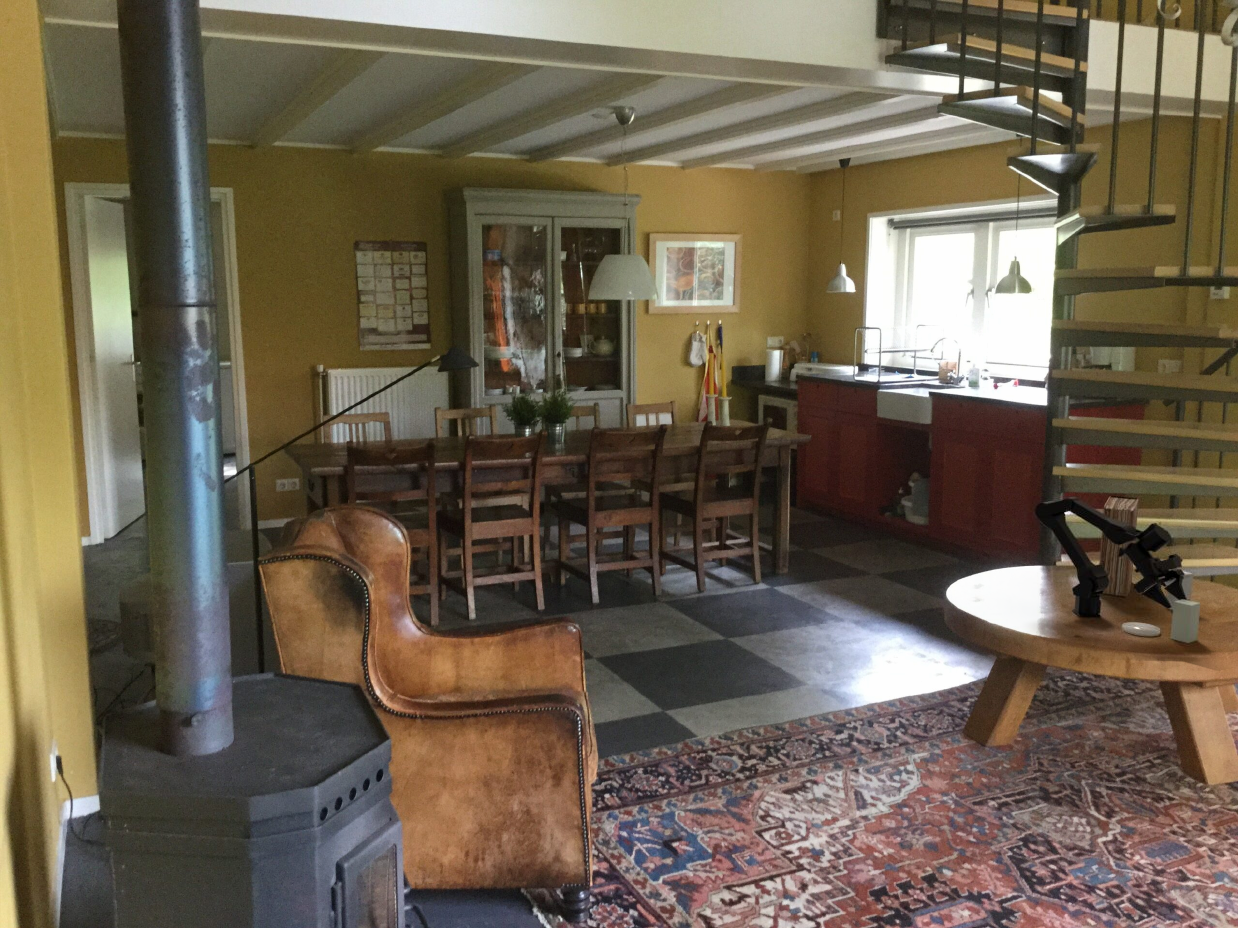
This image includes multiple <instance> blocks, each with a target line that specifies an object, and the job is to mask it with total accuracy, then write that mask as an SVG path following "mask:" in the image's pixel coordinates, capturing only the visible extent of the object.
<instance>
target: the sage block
mask: <svg viewBox="0 0 1238 928" xmlns="http://www.w3.org/2000/svg"><path fill="white" fill-rule="evenodd" d="M1200 611H1201V603H1200V602H1198V601H1194V600H1193V601H1192V600H1191V601H1189V600H1184V599H1181V600H1178V601H1175V602H1174V606H1173V610H1172V618H1171V619H1172V620H1171V630H1170V639H1171V640H1175V641H1179V642H1183V643H1187V644H1189V643H1192V642H1196V641H1197V640H1198V633H1199V631H1198V630H1199V622H1200Z"/></svg>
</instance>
